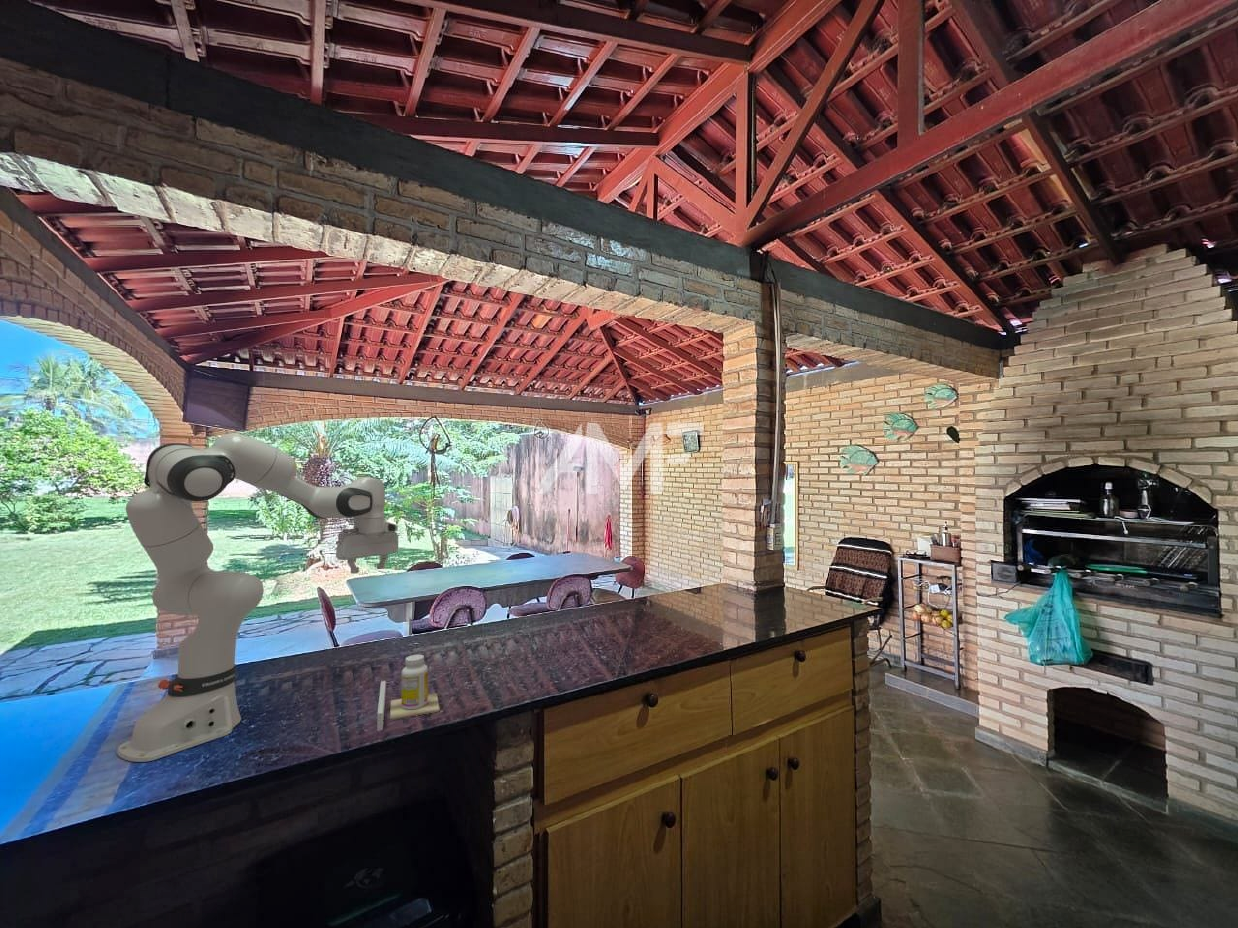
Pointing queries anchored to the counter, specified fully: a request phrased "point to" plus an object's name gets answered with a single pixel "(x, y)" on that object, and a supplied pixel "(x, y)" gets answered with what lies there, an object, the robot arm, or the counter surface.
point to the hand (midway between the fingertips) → (368, 570)
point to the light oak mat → (400, 712)
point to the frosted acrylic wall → (381, 706)
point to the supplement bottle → (414, 683)
